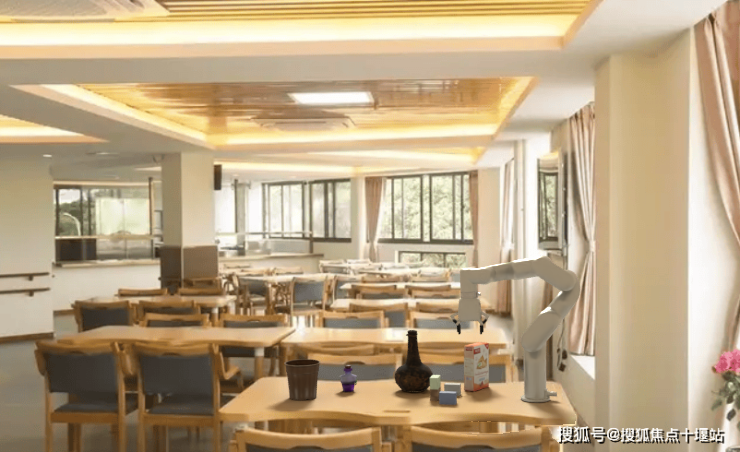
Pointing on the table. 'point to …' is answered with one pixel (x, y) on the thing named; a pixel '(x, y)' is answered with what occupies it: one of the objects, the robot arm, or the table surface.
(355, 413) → the table surface
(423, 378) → the glass bottle
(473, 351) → the cracker box
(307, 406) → the table surface
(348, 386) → the potion bottle
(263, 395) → the table surface
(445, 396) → the blue block
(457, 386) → the slate brick
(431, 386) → the sage brick
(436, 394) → the walnut brick
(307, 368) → the plant pot
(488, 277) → the robot arm
